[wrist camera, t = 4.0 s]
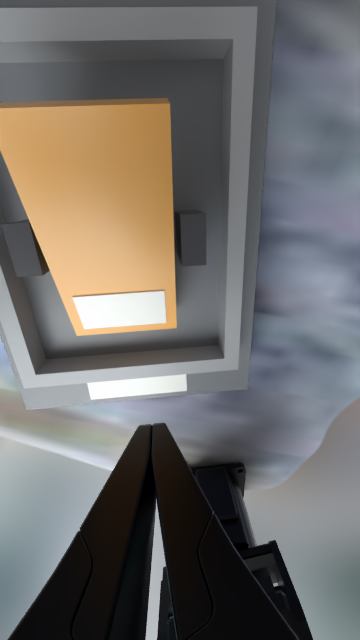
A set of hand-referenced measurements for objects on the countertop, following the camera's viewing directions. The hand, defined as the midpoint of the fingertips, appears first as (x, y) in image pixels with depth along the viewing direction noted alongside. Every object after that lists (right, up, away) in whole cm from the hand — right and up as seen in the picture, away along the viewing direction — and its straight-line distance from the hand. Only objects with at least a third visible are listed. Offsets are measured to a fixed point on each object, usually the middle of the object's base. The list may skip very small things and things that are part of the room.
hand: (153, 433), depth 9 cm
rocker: (-2, +7, +2) cm, 7 cm away
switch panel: (-2, +9, +7) cm, 12 cm away
